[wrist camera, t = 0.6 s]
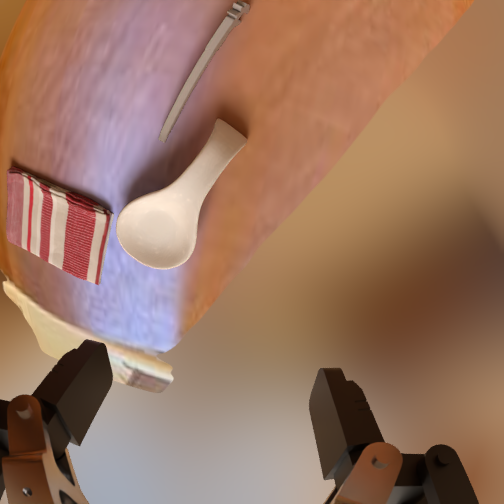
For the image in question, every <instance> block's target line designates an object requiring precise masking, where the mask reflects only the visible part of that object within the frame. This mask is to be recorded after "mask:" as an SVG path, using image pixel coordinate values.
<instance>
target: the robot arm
mask: <svg viewBox="0 0 504 504" xmlns="http://www.w3.org/2000/svg"><path fill="white" fill-rule="evenodd" d="M112 380H113V374H112V369H111V365H110V361H109V357H108V353H107V348H106V346H105V344H104V343H100V342H96V341H92V340H88V339H86V340H85V341H84V342H83V343H82V344H81V345H80V346H79V348H78V349H73V350H71V351H69V352H68V353H66V354H64V355H63V357H62V358H61V359H60V360H59V361H58V363H57V365H55V366H54V368H53V369H52V371H50V372H49V374H48V375H47V376H46V377H45V379H44V380H43V381H42V382H41V384H40V385H39V386H38V387H37V389H36V390H35V391H34V393H33V394H32V395H19V396H17V397H15V398H13V399H12V400H11V401H5V400H0V500H1V497H2V495H3V492H4V490H5V488H6V493H7V498H8V503H9V504H89V503H88V501H87V500H86V498H85V496H84V495H83V493H82V491H81V489H80V486H79V484H78V481H77V478H76V475H75V472H74V469H73V466H72V463H71V459H70V456H69V452H68V449H67V448H66V447H67V445H68V444H69V442H71V443H73V444H75V445H78V446H80V445H81V443H82V441H83V439H84V437H85V435H86V433H87V431H88V429H89V427H90V425H91V423H92V421H93V419H94V417H95V415H96V413H97V411H98V410H99V408H100V406H101V404H102V402H103V400H104V398H105V397H106V395H107V393H108V391H109V389H110V387H111V385H112ZM309 410H310V415H311V420H312V425H313V429H314V434H315V439H316V444H317V448H318V453H319V458H320V463H321V468H322V473H323V478H324V480H328V479H334V480H335V484H336V486H335V487H334V489H333V490H332V492H331V493H330V495H329V496H328V498H327V499H326V501H325V502H324V503H323V504H479V503H478V500H477V497H476V495H475V493H474V490H473V488H472V486H471V483H470V481H469V478H468V476H467V474H466V472H465V470H464V467H463V465H462V463H461V461H460V459H459V457H458V455H457V453H456V452H455V450H454V449H452V448H451V447H449V446H447V445H442V444H440V445H435V446H433V447H431V448H430V449H429V450H428V451H427V452H426V453H425V454H403V453H400V451H399V450H398V449H397V448H396V447H395V446H393V445H391V444H389V443H385V441H384V439H383V437H382V434H381V432H380V430H379V428H378V425H377V423H376V421H375V418H374V416H373V413H372V411H371V410H370V407H369V404H368V402H366V397H365V395H364V393H363V391H362V389H361V388H360V387H359V386H358V385H357V384H356V383H355V382H354V381H346V379H345V376H344V374H343V371H342V370H341V368H320V369H319V371H318V374H317V377H316V380H315V384H314V386H313V389H312V392H311V396H310V400H309Z"/></svg>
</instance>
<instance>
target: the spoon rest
mask: <svg viewBox="0 0 504 504" xmlns="http://www.w3.org/2000/svg"><path fill="white" fill-rule="evenodd" d="M246 143H247V139H246V138H245V137H244V136H243V135H242V134H241V133H239V132H238V131H237V130H235V129H234V128H233V127H231V126H230V125H229V124H227V123H226V122H224V121H223V120H221V119H217V120H216V122H215V125H214V129H213V131H212V134H211V136H210V138H209V139H208V141H207V143H206V144H205V146H204V147H203V149H202V150H201V151H200V153H199V154H198V155H197V157H196V158H195V159H194V160H193V162H192V163H191V164H190V165H189V166H188V168H187V169H186V170H185V171H184V172H183V173H182V174H181V175H180V176H179V178H177V179H176V180H175V181H174V182H173V183H172V184H170V185H169V186H167V187H165V188H163V189H161V190H158V191H155V192H151V193H148V194H145V195H143V196H141V197H138V198H136V199H134V200H133V201H131V202H130V203H128V204H127V205H126V206H125V207H124V208H123V209H122V211H121V212H120V214H119V216H118V218H117V223H116V233H117V237H118V240H119V242H120V244H121V246H122V247H123V249H124V250H125V251H126V252H127V253H128V254H129V255H130V256H131V257H132V258H134V259H135V260H137V261H138V262H140V263H142V264H144V265H146V266H148V267H152V268H156V269H171V268H174V267H177V266H179V265H181V264H183V263H184V262H185V261H187V260H188V258H189V257H190V256H191V254H192V252H193V250H194V248H195V245H196V239H197V228H198V219H199V213H200V209H201V206H202V203H203V201H204V199H205V197H206V195H207V193H208V192H209V190H210V189H211V187H212V186H213V184H214V183H215V181H216V180H217V178H218V177H219V175H220V174H221V173H222V171H223V170H224V169H225V167H226V166H227V165H228V163H229V162H230V161H231V160H232V159H233V157H234V156H235V155H236V154H237V153H238V152H239V151H240V150H241V149H242V148H243V147H244V146H245V144H246Z"/></svg>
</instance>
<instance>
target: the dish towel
mask: <svg viewBox="0 0 504 504" xmlns="http://www.w3.org/2000/svg"><path fill="white" fill-rule="evenodd" d="M7 189H8V206H7V227H6V230H7V238H8V241H9V242H11V243H12V244H15V245H17V246H19V247H21V248H24V249H26V250H27V251H29V252H31V253H33V254H35V255H37V256H39V257H40V258H42V259H43V260H45V261H47V262H49V263H51V264H53V265H55V266H56V267H58V268H60V269H62V270H64V271H66V272H68V273H70V274H72V275H74V276H76V277H78V278H80V279H83V280H87V281H90V282H92V283H95V284H97V285H99V284H100V283H101V275H102V270H103V265H104V260H105V254H106V249H107V244H108V240H109V235H110V230H111V225H112V221H113V217H114V213H111V212H110V211H109V210H106V209H105V208H103V207H102V206H101V205H100V204H98V203H96V202H94V201H93V200H91V199H89V198H87V197H85V196H82V195H80V194H77V193H74V192H70V191H67V190H65V189H62V188H60V187H58V186H56V185H54V184H52V183H49V182H47V181H45V180H43V179H40V178H38V177H36V176H33V175H31V174H29V173H27V172H24V171H23V170H21V169H19V168H17V167H15V166H12V167H11V168H10V169H8V170H7Z"/></svg>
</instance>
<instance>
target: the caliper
mask: <svg viewBox="0 0 504 504" xmlns="http://www.w3.org/2000/svg"><path fill="white" fill-rule="evenodd" d="M249 9H250V5H249V4H247V3H245V2H242V1H240V0H238V2H237V3H236V4H235V3H234V4H233V9H230V10H229V11H228V12H227V13H229V15H228V16H226V18H225V19H224V20H223V22H222V23H221V25H220V26H219V28H218V29H217V31H216V32H215V34H214V35H213V37H212V38H211V40H210V41H209V43H208V45H207V46H206V48H205V51H204V52H203V54H202V56H201V57H200V59H199V60H198V62H197V64H196V66H195V67H194V69H193V71H192V72H191V74H190V76H189V78H188V79H187V81H186V83H185V85H184V87H183V88H182V90H181V92H180V94H179V96H178V98H177V100H176V102H175V104H174V106H173V108H172V110H171V112H170V114H169V116H168V118H167V120H166V122H165V124H164V126H163V128H162V130H161V132H160V133H161V134H160V136H159V139H158V140H160V141H162V142H164V143H165V142H166V140H167V137H168V135H169V134H170V132H171V130H172V128H173V126H174V124H175V123H176V121H177V119H178V117H179V115H180V113H181V111H182V109H183V107H184V105H185V103H186V102H187V100H188V98H189V96H190V94H191V92H192V91H193V89H194V87H195V85H196V84H197V82H198V80H199V79H200V77H201V75H202V74H203V72H204V70H205V69H206V67H207V65H208V64H209V62H210V60H211V59H212V57H213V56H214V54H215V53H216V51H218V50H219V48H220V47H221V45H222V44H223V42H224V41H225V39H226V38H227V36H228V34H229V33H230V31H231V30H232V29H233V28H234V27H236V26H237V25H239V24H240V23H241V21H240V20H238V19H239V18H240V16H241V15H242V14H243V13H246V14H248V12H249Z"/></svg>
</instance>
